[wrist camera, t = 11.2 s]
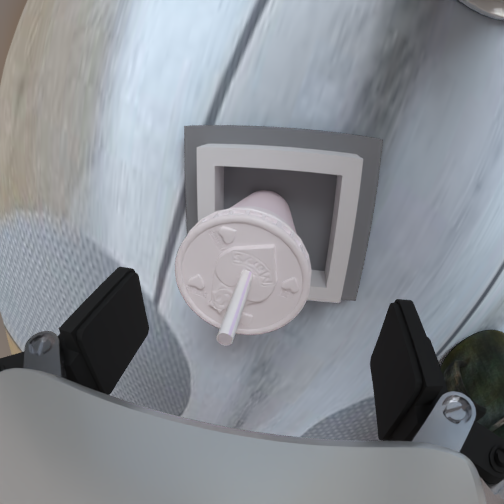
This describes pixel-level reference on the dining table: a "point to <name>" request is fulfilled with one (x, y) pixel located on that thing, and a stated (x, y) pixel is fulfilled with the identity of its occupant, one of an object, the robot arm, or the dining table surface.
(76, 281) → the dining table surface
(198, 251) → the smoothie
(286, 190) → the dock
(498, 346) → the mug
